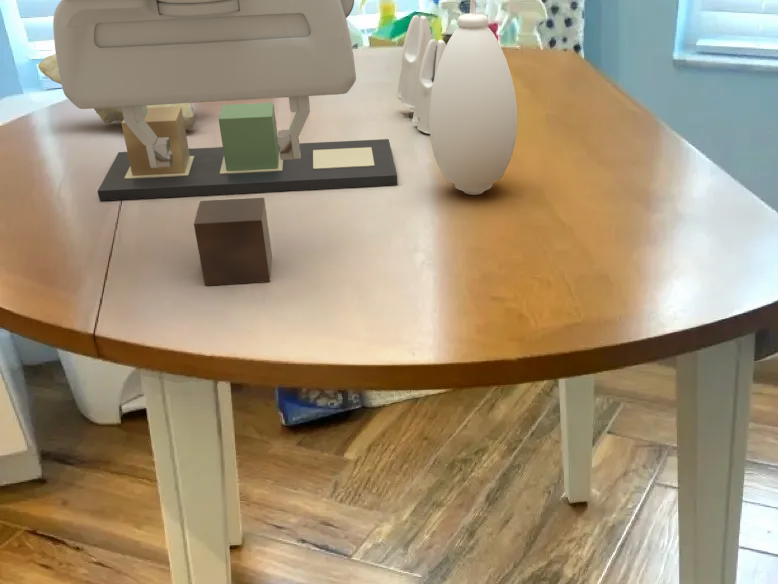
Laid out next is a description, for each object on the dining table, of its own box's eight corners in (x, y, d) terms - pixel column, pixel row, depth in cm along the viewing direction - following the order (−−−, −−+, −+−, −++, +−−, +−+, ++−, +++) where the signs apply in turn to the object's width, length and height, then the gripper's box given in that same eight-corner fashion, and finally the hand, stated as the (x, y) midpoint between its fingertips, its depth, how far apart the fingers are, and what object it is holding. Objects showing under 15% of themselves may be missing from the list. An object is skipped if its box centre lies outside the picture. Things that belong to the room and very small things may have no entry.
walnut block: (204, 286, 74) (193, 223, 71) (210, 260, 78) (199, 200, 75) (270, 282, 74) (261, 219, 72) (272, 256, 78) (264, 197, 76)
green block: (226, 171, 93) (218, 118, 90) (229, 155, 97) (222, 104, 95) (278, 168, 94) (271, 116, 91) (279, 153, 98) (273, 102, 95)
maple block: (132, 175, 92) (121, 122, 90) (139, 159, 97) (129, 108, 94) (185, 172, 93) (175, 120, 90) (190, 157, 97) (181, 106, 94)
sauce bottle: (530, 187, 92) (536, -22, 82) (485, 211, 86) (486, -8, 76) (462, 173, 95) (460, -28, 85) (416, 195, 90) (407, -16, 80)
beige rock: (233, 134, 114) (164, 36, 116) (228, 99, 107) (154, -5, 109) (119, 195, 111) (49, 94, 112) (106, 164, 104) (31, 55, 105)
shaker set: (396, 111, 114) (391, 10, 108) (430, 108, 116) (427, 7, 109) (424, 139, 105) (420, 30, 99) (460, 135, 106) (459, 27, 100)
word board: (99, 201, 90) (97, 189, 89) (120, 161, 100) (118, 151, 99) (397, 185, 93) (397, 173, 92) (389, 148, 102) (388, 137, 102)
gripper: (348, -60, 67) (364, 140, 75) (46, -48, 65) (95, 157, 73) (352, -48, 62) (368, 165, 70) (24, -34, 60) (79, 184, 68)
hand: (226, 161), depth 71 cm, fingers open, 8 cm apart
